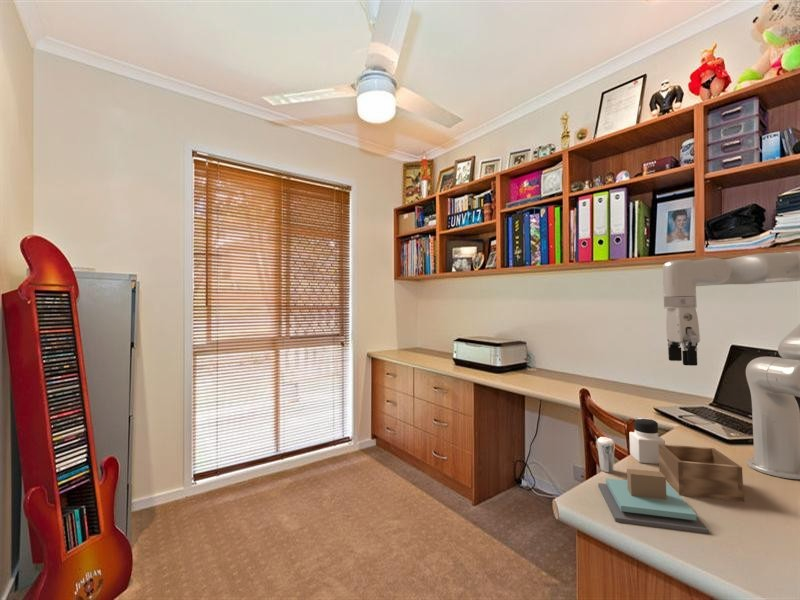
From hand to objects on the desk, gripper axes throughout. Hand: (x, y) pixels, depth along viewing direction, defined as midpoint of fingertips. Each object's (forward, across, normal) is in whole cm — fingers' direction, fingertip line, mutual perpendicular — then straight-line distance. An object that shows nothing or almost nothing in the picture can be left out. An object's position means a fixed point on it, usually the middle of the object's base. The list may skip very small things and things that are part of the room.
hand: (682, 362), depth 107 cm
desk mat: (+30, -26, +18) cm, 43 cm away
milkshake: (+31, -6, +22) cm, 38 cm away
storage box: (+30, -10, +2) cm, 32 cm away
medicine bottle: (+31, +6, +8) cm, 32 cm away
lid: (+29, -25, +18) cm, 42 cm away
